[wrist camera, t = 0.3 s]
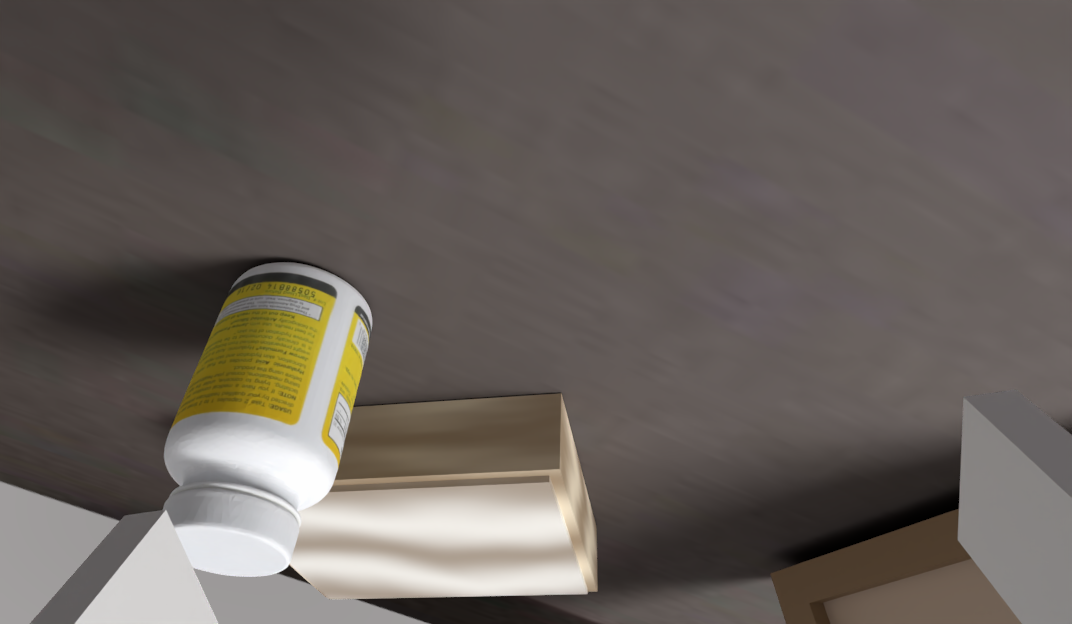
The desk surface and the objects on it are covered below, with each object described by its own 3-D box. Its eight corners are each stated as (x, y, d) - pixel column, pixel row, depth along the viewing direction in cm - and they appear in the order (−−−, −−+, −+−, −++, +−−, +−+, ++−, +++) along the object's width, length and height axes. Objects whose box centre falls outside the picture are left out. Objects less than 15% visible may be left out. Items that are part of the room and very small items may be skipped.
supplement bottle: (202, 289, 27) (85, 537, 21) (301, 235, 25) (204, 497, 18) (307, 363, 31) (235, 596, 24) (403, 322, 28) (352, 568, 22)
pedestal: (228, 415, 34) (199, 492, 31) (561, 393, 31) (559, 475, 29) (339, 536, 44) (324, 602, 42) (596, 527, 42) (597, 596, 39)
